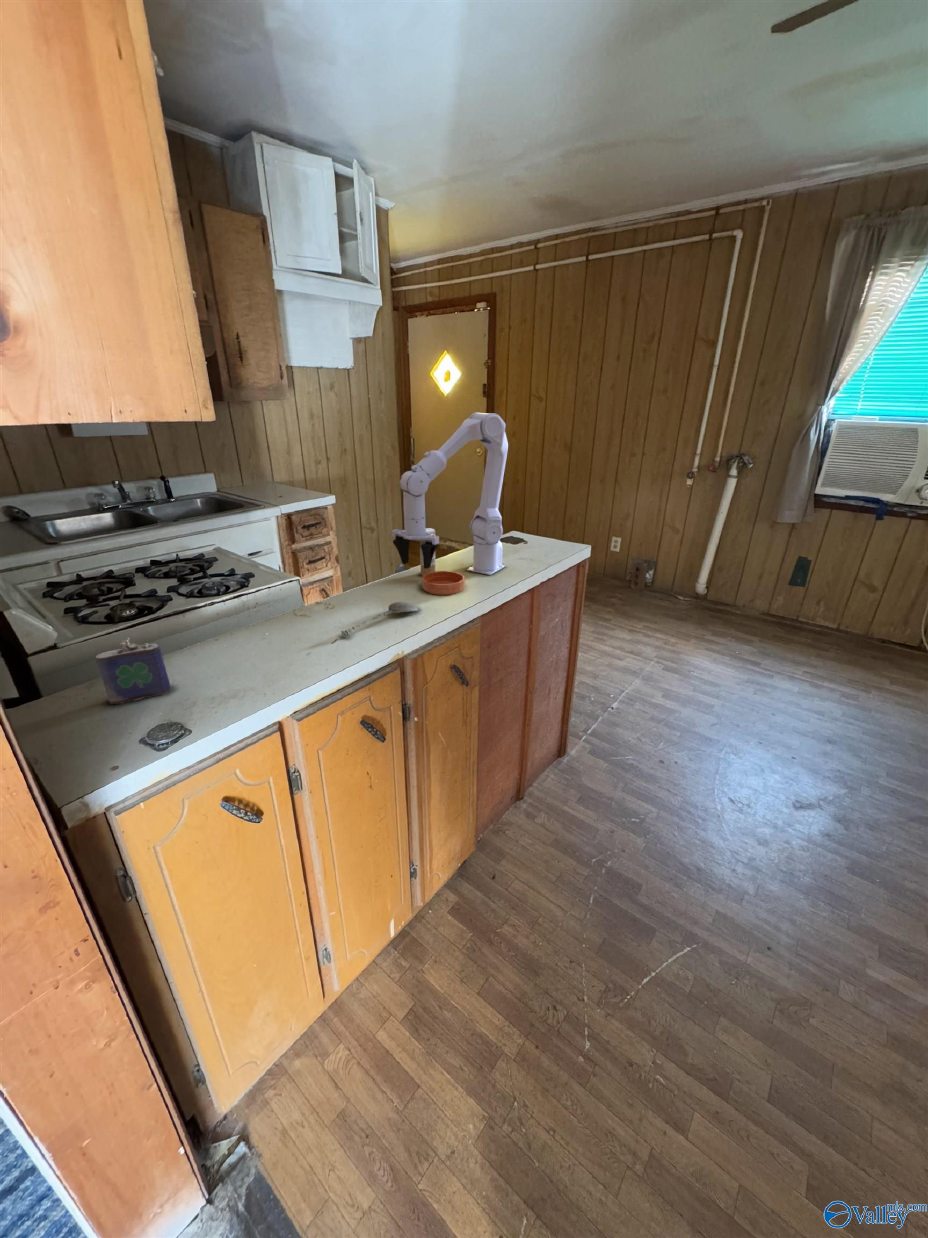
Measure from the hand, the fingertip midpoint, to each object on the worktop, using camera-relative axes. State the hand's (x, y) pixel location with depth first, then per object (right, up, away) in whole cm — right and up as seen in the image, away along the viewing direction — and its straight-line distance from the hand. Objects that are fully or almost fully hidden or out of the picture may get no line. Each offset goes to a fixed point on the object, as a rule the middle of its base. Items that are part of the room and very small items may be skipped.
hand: (416, 565), depth 141 cm
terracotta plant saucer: (+8, -7, -4) cm, 11 cm away
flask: (-43, -29, -54) cm, 75 cm away
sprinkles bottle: (+3, -2, +6) cm, 7 cm away
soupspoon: (-6, -16, -25) cm, 30 cm away
